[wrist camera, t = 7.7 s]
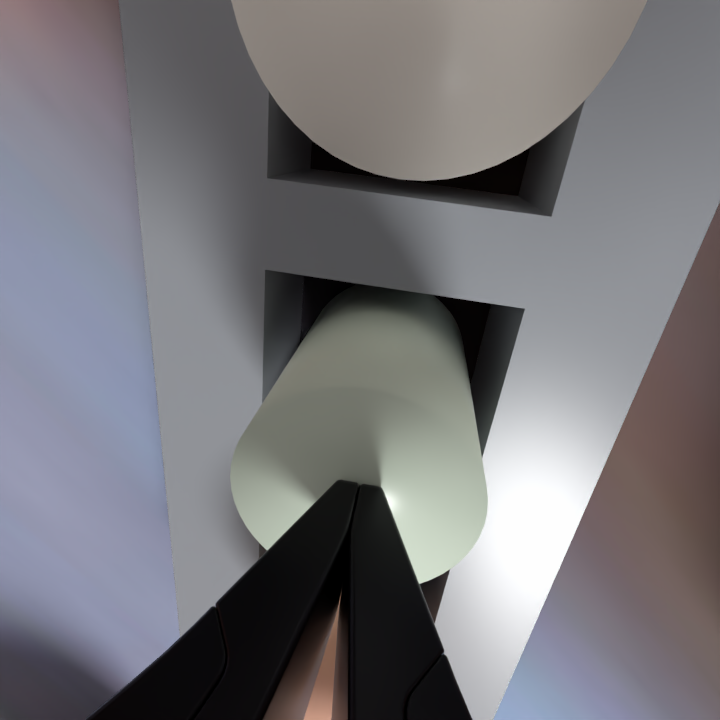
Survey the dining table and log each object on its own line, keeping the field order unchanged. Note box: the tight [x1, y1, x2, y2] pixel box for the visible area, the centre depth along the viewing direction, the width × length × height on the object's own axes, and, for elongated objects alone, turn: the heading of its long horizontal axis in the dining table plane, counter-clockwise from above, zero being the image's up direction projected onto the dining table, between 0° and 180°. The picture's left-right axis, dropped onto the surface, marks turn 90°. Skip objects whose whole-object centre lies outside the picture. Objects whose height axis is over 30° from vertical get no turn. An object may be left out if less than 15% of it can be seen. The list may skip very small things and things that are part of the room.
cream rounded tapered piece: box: [231, 0, 647, 181], centre depth 8 cm, size 5×5×6 cm
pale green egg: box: [230, 284, 488, 584], centre depth 11 cm, size 5×5×6 cm
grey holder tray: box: [119, 0, 720, 720], centre depth 14 cm, size 12×28×4 cm, turn 174°
